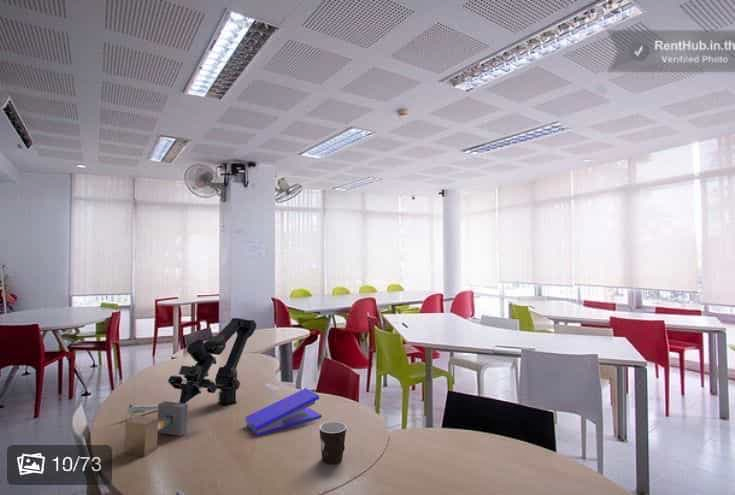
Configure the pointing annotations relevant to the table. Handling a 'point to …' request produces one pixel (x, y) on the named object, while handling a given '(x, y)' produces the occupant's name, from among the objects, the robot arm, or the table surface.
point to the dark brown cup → (332, 441)
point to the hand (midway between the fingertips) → (180, 405)
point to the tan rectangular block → (143, 434)
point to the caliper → (138, 410)
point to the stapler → (284, 413)
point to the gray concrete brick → (178, 415)
